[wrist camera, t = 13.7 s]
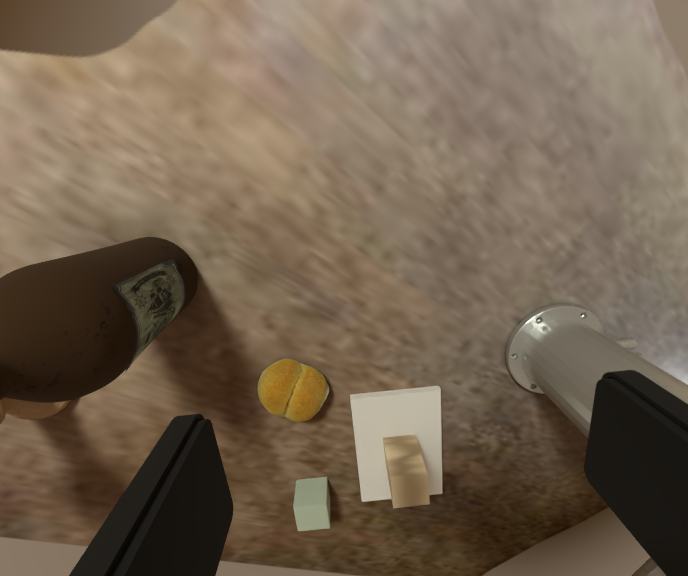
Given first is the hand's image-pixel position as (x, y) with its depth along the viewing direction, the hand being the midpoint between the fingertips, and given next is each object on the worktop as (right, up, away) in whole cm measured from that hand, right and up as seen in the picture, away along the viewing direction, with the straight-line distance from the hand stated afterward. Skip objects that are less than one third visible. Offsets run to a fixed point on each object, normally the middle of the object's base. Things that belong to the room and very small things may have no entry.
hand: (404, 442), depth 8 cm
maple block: (+6, -19, +40) cm, 45 cm away
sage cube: (-6, -26, +44) cm, 51 cm away
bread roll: (-8, -9, +38) cm, 40 cm away
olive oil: (-23, +5, +33) cm, 41 cm away
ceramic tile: (+6, -19, +41) cm, 46 cm away
